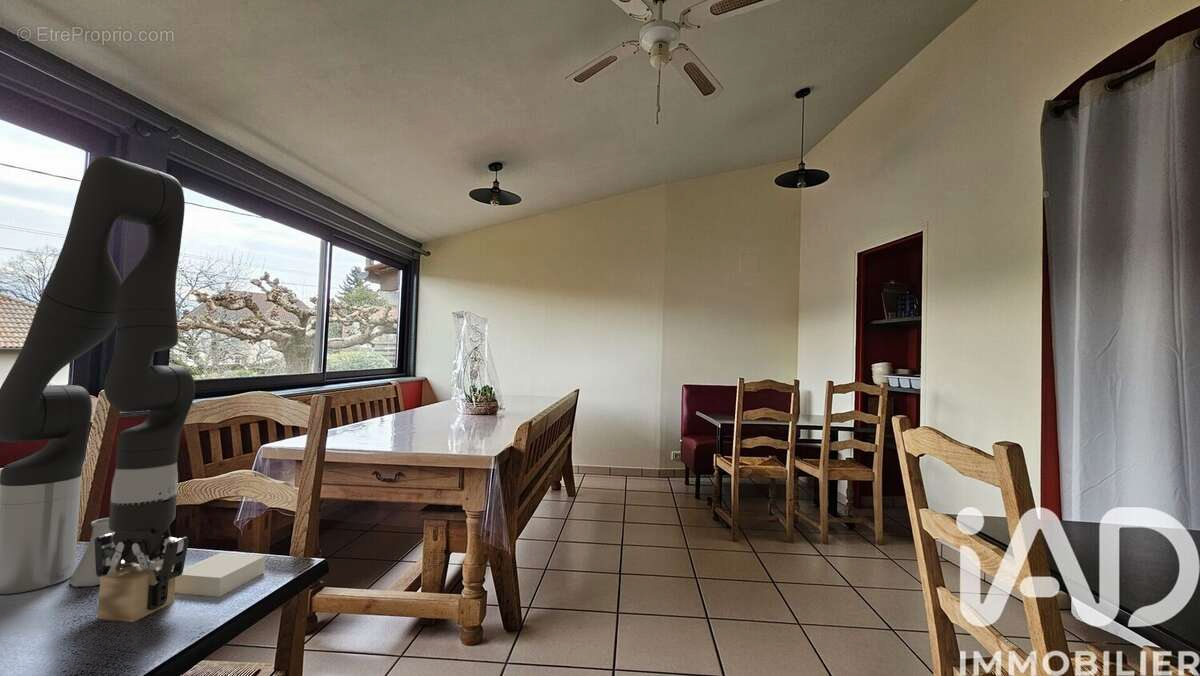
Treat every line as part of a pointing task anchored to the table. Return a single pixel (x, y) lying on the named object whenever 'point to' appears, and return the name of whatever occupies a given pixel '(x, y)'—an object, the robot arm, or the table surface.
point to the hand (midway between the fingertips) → (137, 605)
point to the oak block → (128, 594)
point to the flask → (90, 557)
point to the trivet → (219, 574)
